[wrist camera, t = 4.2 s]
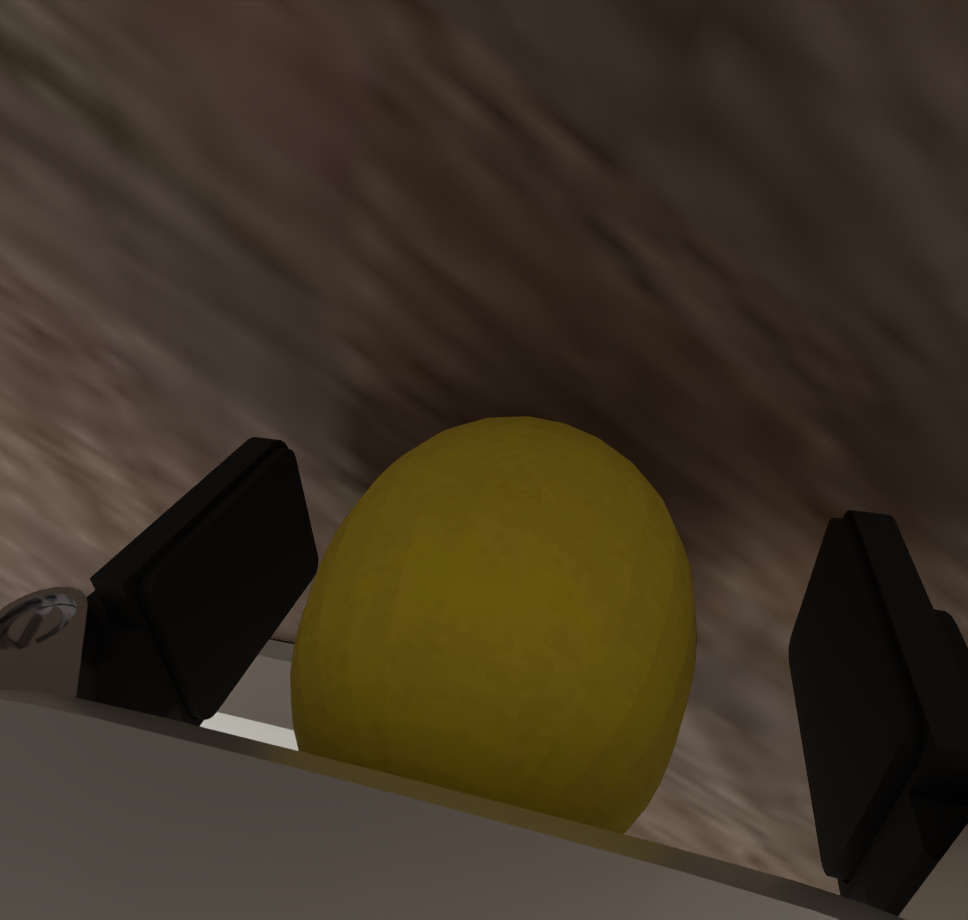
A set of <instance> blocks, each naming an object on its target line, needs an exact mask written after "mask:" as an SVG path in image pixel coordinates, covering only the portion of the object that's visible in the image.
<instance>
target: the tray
mask: <svg viewBox="0 0 968 920" xmlns="http://www.w3.org/2000/svg"><path fill="white" fill-rule="evenodd" d="M293 648H294V644H290V643H285V642H280V641H275V640H270V639H269V640H268V642H267V643H266V644H265V646H264V647H263V649H262V650H261V651H260V653H259V654H258V656H257V657H256V658H255V660H254V661H253V663H252V664H251V665H250V667H249V668H248V670H247V671H246V672H245V674H244V675H243V676H242V678H241V679H240V681H239V682H238V683H237V685H236V686H235V688H234V689H233V690H232V692H231V693H230V695H229V696H228V697H227V699H226V700H225V702H224V703H223V704H222V706H221V707H220V709H219V710H218V711H217V713H216V714H215V715H214V716H213V717H211V718H210V719H207V720H204V721H203V722H202V724H201V725H200V727H204V728H208V729H212V730H216V731H220V732H224V733H228V734H232V735H236V736H240V737H244V738H248V739H252V740H256V741H260V742H264V743H268V744H272V745H276V746H280V747H285V748H289V749H293V750H297V751H298V746H297V742H296V738H295V733H294V729H293V721H292V708H291V688H290V670H291V662H292V655H293Z"/></svg>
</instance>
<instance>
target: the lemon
mask: <svg viewBox="0 0 968 920" xmlns="http://www.w3.org/2000/svg"><path fill="white" fill-rule="evenodd" d="M696 643H697V632H696V615H695V605H694V595H693V585H692V578H691V572H690V566H689V561H688V558H687V555H686V551H685V548H684V545H683V543H682V541H681V539H680V536H679V534H678V532H677V530H676V527H675V525H674V523H673V521H672V519H671V516H670V514H669V512H668V510H667V507H666V505H665V503H664V501H663V499H662V498H661V497H660V495H659V494H658V493H657V491H656V490H655V489H654V488H653V487H652V485H651V484H650V483H649V482H648V481H647V479H646V478H645V477H644V476H643V475H642V473H641V472H640V471H639V470H638V469H637V468H636V466H635V465H634V464H633V463H632V462H631V461H629V460H628V459H627V458H625V457H624V456H622V455H621V454H620V453H618V452H617V451H616V450H614V449H613V448H612V447H610V446H609V445H607V444H606V443H605V442H603V441H602V440H600V439H599V438H597V437H595V436H593V435H590V434H588V433H586V432H584V431H581V430H579V429H577V428H574V427H572V426H570V425H568V424H565V423H561V422H556V421H550V420H545V419H540V418H535V417H529V416H520V417H491V418H485V419H481V420H477V421H474V422H470V423H467V424H463V425H460V426H456V427H453V428H450V429H447V430H444V431H442V432H440V433H438V434H437V435H435V436H433V437H432V438H430V439H428V440H427V441H425V442H424V443H422V444H420V445H419V446H417V447H415V448H414V449H412V450H411V451H409V452H407V453H406V454H404V455H403V456H401V457H400V458H399V459H397V460H396V461H395V462H394V463H392V464H391V465H390V466H389V467H388V468H387V469H386V470H385V471H384V472H383V473H382V474H381V475H380V476H379V477H378V478H377V479H376V481H375V482H374V483H373V484H372V485H371V487H370V488H369V489H368V490H367V491H366V493H365V494H364V495H363V496H362V497H361V499H360V500H359V501H358V502H357V504H356V505H355V506H354V507H353V509H352V510H351V511H350V512H349V514H348V515H347V516H346V518H345V519H344V520H343V522H342V524H341V525H340V527H339V528H338V530H337V532H336V533H335V535H334V537H333V539H332V541H331V543H330V545H329V546H328V548H327V550H326V552H325V555H324V557H323V559H322V562H321V564H320V567H319V569H318V572H317V574H316V577H315V580H314V583H313V586H312V589H311V592H310V594H309V597H308V600H307V603H306V606H305V609H304V612H303V615H302V618H301V621H300V624H299V628H298V632H297V636H296V640H295V644H294V648H293V655H292V662H291V670H290V688H291V708H292V721H293V729H294V733H295V738H296V742H297V746H298V751H301V752H305V753H308V754H312V755H316V756H320V757H324V758H328V759H332V760H336V761H340V762H344V763H348V764H352V765H356V766H360V767H364V768H368V769H372V770H376V771H380V772H384V773H388V774H391V775H395V776H399V777H403V778H407V779H411V780H415V781H419V782H423V783H427V784H431V785H435V786H439V787H443V788H446V789H450V790H454V791H458V792H462V793H466V794H470V795H474V796H478V797H482V798H486V799H490V800H493V801H497V802H501V803H505V804H509V805H513V806H517V807H520V808H524V809H528V810H532V811H536V812H540V813H544V814H547V815H551V816H555V817H559V818H563V819H567V820H570V821H574V822H578V823H582V824H586V825H590V826H594V827H597V828H601V829H605V830H609V831H613V832H617V833H621V834H624V833H625V832H626V831H627V830H628V829H629V828H630V826H631V825H632V824H633V823H634V822H635V820H636V819H637V818H638V817H639V816H640V814H641V813H642V812H643V811H644V810H645V809H646V807H647V806H648V804H649V802H650V801H651V799H652V797H653V795H654V794H655V792H656V790H657V788H658V786H659V785H660V783H661V780H662V778H663V776H664V773H665V771H666V768H667V766H668V763H669V761H670V758H671V755H672V752H673V749H674V746H675V743H676V739H677V736H678V733H679V729H680V726H681V722H682V719H683V715H684V712H685V708H686V705H687V701H688V697H689V692H690V688H691V684H692V679H693V673H694V666H695V660H696Z"/></svg>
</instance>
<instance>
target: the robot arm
mask: <svg viewBox="0 0 968 920" xmlns="http://www.w3.org/2000/svg"><path fill="white" fill-rule="evenodd" d="M317 568H318V554H317V550H316V545H315V541H314V537H313V532H312V528H311V523H310V519H309V514H308V510H307V506H306V501H305V497H304V492H303V488H302V483H301V479H300V475H299V470H298V466H297V461H296V457H295V454H294V452H293V451H292V450H290V449H288V447H287V445H286V444H285V442H283V441H281V440H274V439H266V438H258V437H253V438H250V439H248V440H247V441H246V442H245V443H244V444H242V445H241V446H240V447H239V448H238V449H237V450H236V451H234V452H233V453H232V454H231V455H230V456H229V457H228V458H226V459H225V460H224V461H223V462H222V463H221V464H220V465H219V466H217V467H216V468H215V469H214V470H213V471H212V472H211V473H209V474H208V475H207V476H206V477H205V478H204V479H203V480H201V481H200V482H199V483H198V484H197V485H196V486H195V487H193V488H192V489H191V490H190V491H189V492H188V493H187V494H185V495H184V496H183V497H182V498H181V499H180V500H179V501H177V502H176V503H175V504H174V505H173V506H172V507H171V508H169V509H168V510H167V511H166V512H165V513H164V514H163V515H161V516H160V517H159V518H158V519H157V520H156V521H155V522H153V523H152V524H151V525H150V526H149V527H148V528H147V529H146V530H144V531H143V532H142V533H141V534H140V535H139V536H138V537H136V538H135V539H134V540H133V541H132V542H131V543H130V544H128V545H127V546H126V547H125V548H124V549H123V550H122V551H120V552H119V553H118V554H117V555H116V556H115V557H114V558H112V559H111V560H110V561H109V562H108V563H107V564H106V565H104V566H103V567H102V568H101V569H100V570H99V571H98V572H96V573H95V574H94V575H93V576H92V577H91V578H90V580H91V582H92V584H93V586H94V588H95V591H94V592H93V593H91V594H90V595H89V596H88V597H86V596H85V595H84V594H83V593H82V592H81V591H80V590H77V589H74V588H71V587H53V588H48V589H43V590H39V591H36V592H33V593H30V594H28V595H25V596H23V597H21V598H19V599H17V600H15V601H13V602H11V603H9V604H8V605H6V606H5V607H4V608H2V609H1V610H0V920H968V648H967V646H966V643H965V641H964V639H963V637H962V635H961V633H960V630H959V628H958V626H957V624H956V623H955V621H954V619H953V618H952V616H951V615H949V614H948V613H947V612H945V611H941V610H934V609H933V607H932V604H931V602H930V600H929V598H928V595H927V593H926V591H925V588H924V586H923V584H922V581H921V579H920V577H919V575H918V572H917V570H916V568H915V565H914V563H913V561H912V559H911V556H910V554H909V552H908V549H907V547H906V545H905V542H904V540H903V538H902V536H901V533H900V531H899V529H898V526H897V524H896V522H895V520H894V518H893V517H892V516H890V515H885V514H877V513H869V512H861V511H853V510H849V511H847V512H846V513H845V514H844V516H843V519H841V518H831V520H830V521H829V524H828V526H827V529H826V532H825V535H824V538H823V541H822V544H821V547H820V550H819V553H818V556H817V559H816V562H815V565H814V568H813V572H812V575H811V578H810V581H809V584H808V587H807V590H806V593H805V596H804V599H803V602H802V605H801V608H800V611H799V614H798V617H797V620H796V623H795V626H794V629H793V632H792V635H791V639H790V644H789V665H790V671H791V677H792V683H793V689H794V696H795V702H796V708H797V714H798V720H799V727H800V733H801V739H802V745H803V751H804V758H805V764H806V770H807V776H808V782H809V788H810V795H811V801H812V807H813V813H814V819H815V826H816V832H817V838H818V844H819V850H820V857H821V862H822V867H823V869H824V872H825V874H826V875H827V876H831V877H835V878H838V884H839V889H840V895H841V896H840V895H837V894H834V893H831V892H828V891H824V890H821V889H818V888H815V887H812V886H809V885H806V884H803V883H800V882H796V881H793V880H790V879H786V878H782V877H779V876H775V875H772V874H768V873H764V872H761V871H757V870H753V869H750V868H746V867H743V866H739V865H735V864H732V863H728V862H725V861H721V860H717V859H714V858H710V857H706V856H703V855H699V854H696V853H692V852H688V851H685V850H681V849H678V848H674V847H670V846H667V845H663V844H659V843H655V842H651V841H648V840H644V839H640V838H636V837H632V836H628V835H624V834H621V833H617V832H613V831H609V830H605V829H601V828H597V827H594V826H590V825H586V824H582V823H578V822H574V821H570V820H567V819H563V818H559V817H555V816H551V815H547V814H544V813H540V812H536V811H532V810H528V809H524V808H520V807H517V806H513V805H509V804H505V803H501V802H497V801H493V800H490V799H486V798H482V797H478V796H474V795H470V794H466V793H462V792H458V791H454V790H450V789H446V788H443V787H439V786H435V785H431V784H427V783H423V782H419V781H415V780H411V779H407V778H403V777H399V776H395V775H391V774H388V773H384V772H380V771H376V770H372V769H368V768H364V767H360V766H356V765H352V764H348V763H344V762H340V761H336V760H332V759H328V758H324V757H320V756H316V755H312V754H308V753H305V752H301V751H297V750H293V749H289V748H285V747H280V746H276V745H272V744H268V743H264V742H260V741H256V740H252V739H248V738H244V737H240V736H236V735H232V734H228V733H224V732H220V731H216V730H212V729H208V728H204V727H200V725H201V724H202V722H203V721H204V720H207V719H210V718H211V717H213V716H214V715H215V714H216V713H217V711H218V710H219V709H220V707H221V706H222V704H223V703H224V702H225V700H226V699H227V697H228V696H229V695H230V693H231V692H232V690H233V689H234V688H235V686H236V685H237V683H238V682H239V681H240V679H241V678H242V676H243V675H244V674H245V672H246V671H247V670H248V668H249V667H250V665H251V664H252V663H253V661H254V660H255V658H256V657H257V656H258V654H259V653H260V651H261V650H262V649H263V647H264V646H265V644H266V643H267V642H268V640H269V639H270V637H271V636H272V635H273V633H274V632H275V630H276V629H277V628H278V626H279V625H280V623H281V622H282V621H283V619H284V618H285V617H286V615H287V614H288V612H289V611H290V610H291V608H292V607H293V605H294V604H295V603H296V601H297V600H298V598H299V597H300V596H301V594H302V593H303V591H304V590H305V589H306V587H307V586H308V584H309V583H310V582H311V580H312V579H313V577H314V576H315V574H316V571H317Z"/></svg>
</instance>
